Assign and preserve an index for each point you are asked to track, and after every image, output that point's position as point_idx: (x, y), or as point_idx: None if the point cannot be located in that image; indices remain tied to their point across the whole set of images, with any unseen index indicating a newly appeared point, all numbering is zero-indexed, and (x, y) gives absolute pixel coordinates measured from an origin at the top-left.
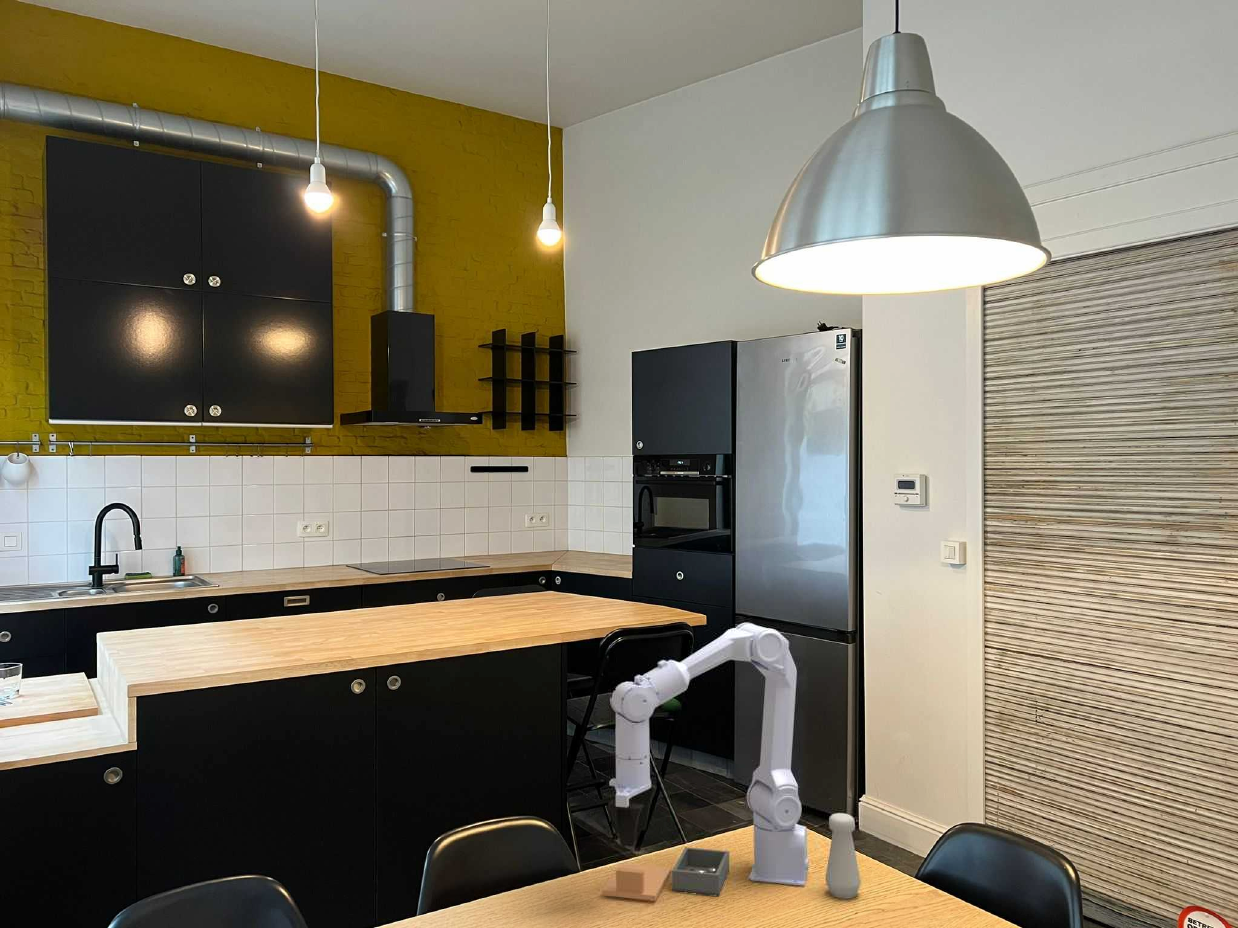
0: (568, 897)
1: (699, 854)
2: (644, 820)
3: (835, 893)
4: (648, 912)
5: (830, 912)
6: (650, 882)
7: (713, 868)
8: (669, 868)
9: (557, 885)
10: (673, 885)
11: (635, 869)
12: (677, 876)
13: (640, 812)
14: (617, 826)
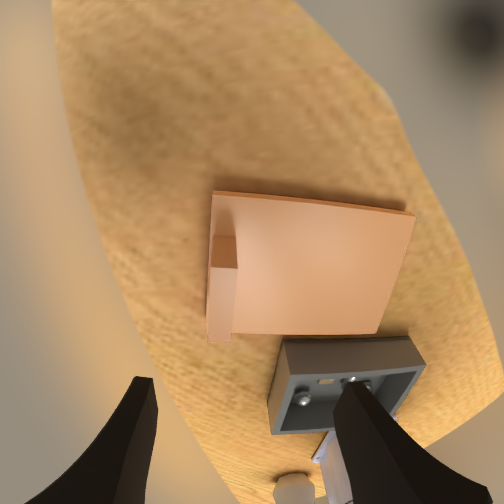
0: (199, 82)
1: (403, 380)
2: (341, 443)
3: (280, 480)
4: (158, 310)
5: (237, 475)
6: (287, 309)
7: None
8: (373, 330)
9: (286, 30)
10: (284, 350)
11: (374, 258)
12: (286, 373)
13: (360, 461)
14: (91, 443)
